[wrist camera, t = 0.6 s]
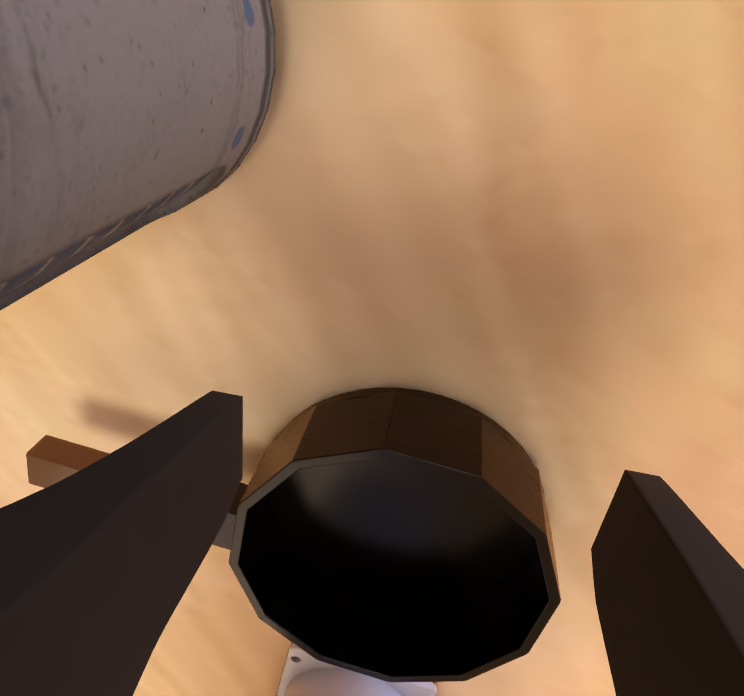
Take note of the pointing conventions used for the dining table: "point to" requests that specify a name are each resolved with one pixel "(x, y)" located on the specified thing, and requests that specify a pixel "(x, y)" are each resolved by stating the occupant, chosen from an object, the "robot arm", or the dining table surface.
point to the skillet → (386, 535)
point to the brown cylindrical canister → (119, 119)
